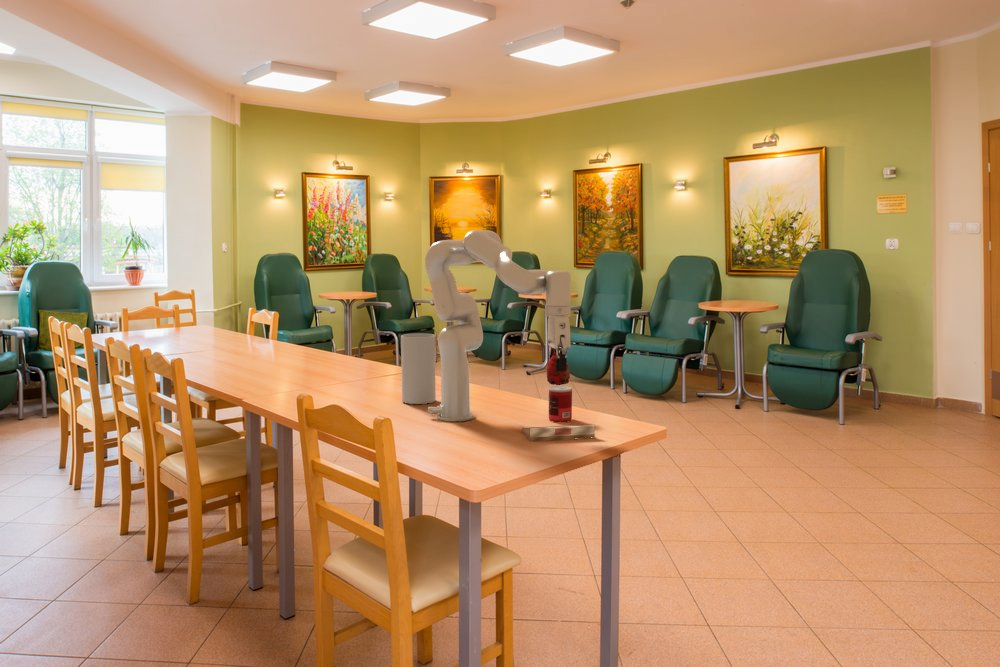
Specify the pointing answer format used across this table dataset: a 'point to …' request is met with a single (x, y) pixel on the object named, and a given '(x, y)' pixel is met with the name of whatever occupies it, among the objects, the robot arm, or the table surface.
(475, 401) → the table surface
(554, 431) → the shelf board
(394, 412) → the table surface
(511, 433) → the table surface
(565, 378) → the red clay folk toy
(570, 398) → the canned food
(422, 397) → the cylinder vase
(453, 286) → the robot arm
